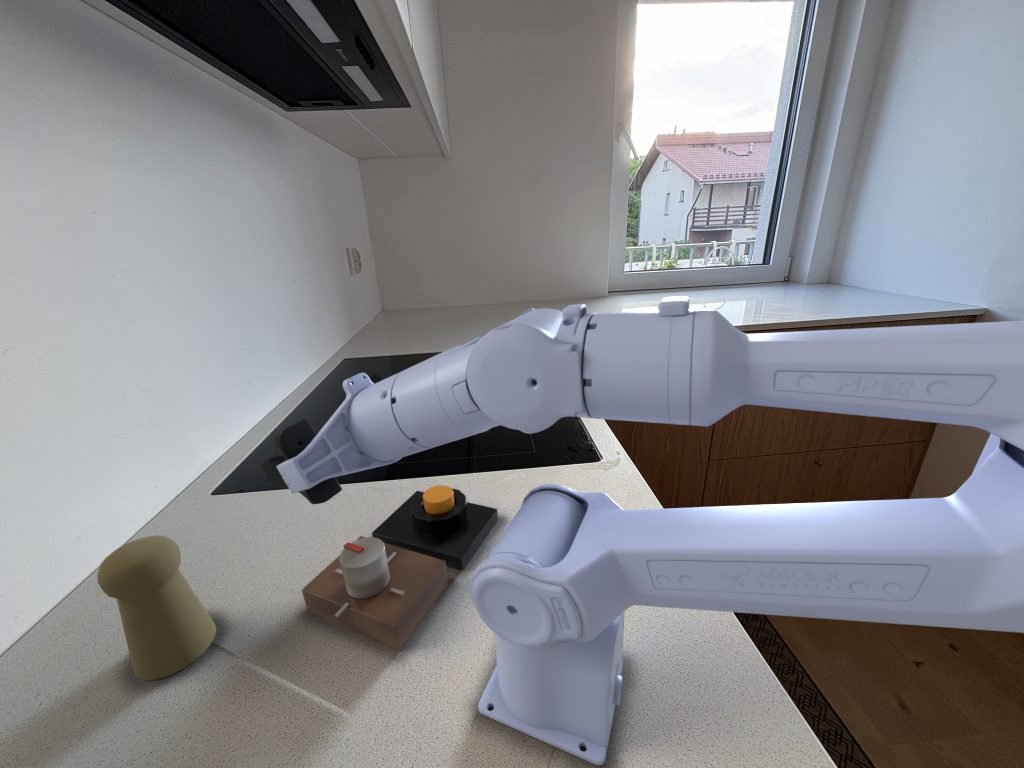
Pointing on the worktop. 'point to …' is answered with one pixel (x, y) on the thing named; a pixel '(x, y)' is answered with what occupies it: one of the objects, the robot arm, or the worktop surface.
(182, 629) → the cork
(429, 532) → the lamp switch
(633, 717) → the worktop surface
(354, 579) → the dimmer knob
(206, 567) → the worktop surface
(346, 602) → the dimmer panel
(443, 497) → the power button
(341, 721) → the worktop surface
